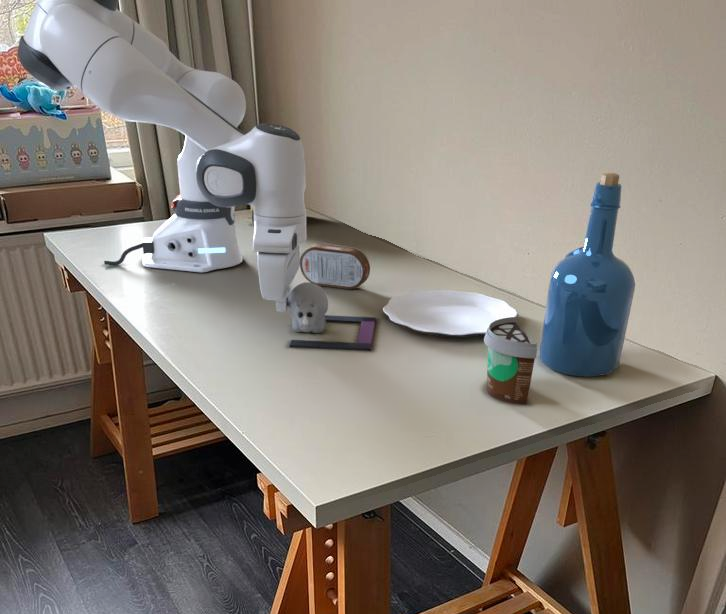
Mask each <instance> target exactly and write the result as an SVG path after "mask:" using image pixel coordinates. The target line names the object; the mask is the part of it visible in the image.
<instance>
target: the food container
mask: <svg viewBox="0 0 726 614" xmlns="http://www.w3.org/2000/svg"><path fill="white" fill-rule="evenodd" d="M483 342H484V345H486V346H487V367H486V393H487V394H488V395H489V396H490V397H492V398H494V399H495V400H497V401H501V402H504V403H509V404H513V405H527V403H528V399H529V392H530V387H531V383H532V376H533V371H534V365H535V360H536V359H537V358H538V357H537V355H538V354H537V353H538V343H537V342H531V341H530V340H529V337H528V334H527V333H526V331H525V330H522V329H521V328H520V326H519V325H518V316H517V317H507V318H502V319H498V320H496V321H494V322H492V323H491V324H490V326H489V327H488V329H487V331H486V334H485V335H484V337H483Z"/></svg>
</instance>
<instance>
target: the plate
mask: <svg viewBox="0 0 726 614" xmlns="http://www.w3.org/2000/svg"><path fill="white" fill-rule="evenodd" d="M382 312H383V314H385V316H388V319H389V321H390V322H392V323H393V324H395V325H396V326H402V327H404V328H408V329H410V330H412V331H414V332H417V333H420V334H425V335H429V336H435V337H442V338H443V337H444V338H445V337H446V338H470V337H480V336H482V335H483V336H485V334H486V331H487V329H488V327H489V326H490V324H491V323H492V322H494V321H496V320H498V319H502V318H507V317H517V318H518V316H519V313H518V311H517V309H516V308H513V307H512V306H510V305H509V304H508V303H507V302H506V301H504V300H502V299H501V298H496V297H491V296H488V295H485V294H482V293H480V292H479V293H478V292H475V291H462V290H461V291H459V290H453V289H433V290H417V291H416V290H415V291H410V292H408V293H405V294H403V295H398V296H394V297H392V298H391V299H389V300H388V302H387V304H386V305H385V306H384V307H383V308H382Z"/></svg>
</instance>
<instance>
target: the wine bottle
mask: <svg viewBox="0 0 726 614" xmlns="http://www.w3.org/2000/svg"><path fill="white" fill-rule="evenodd" d="M619 181H620V175H619V174H618V173H616V172H615V173H614V172H603V173H602V174H601V175H600V181H599V182H597V183H596V184H595V186H594V191H593V194H592V198H591V202H590V203H589V206H590V207H591V208H590V212H589V216H588V223H587V227H586V232H585V236H584V242H583V246H581V247H578V248H575V249H573V250H571V252H569V253H567V254H566V255H565V256H564V258H563V259H561V260H560V261H558V262H557V264H555V266H554V267H553V269H552V270H551V272H550V276H549V284H548V290H547V298H546V305H545V312H544V319H543V325H542V331H541V339H540V345H539V357H540V362H541V363H542V364H543V365H545V366H546V367H548V369H550V370H552V371H555V372H559V373H561V374H562V373H563V374H566V375H569V376H577V377H579V376H580V377H587V378H588V377H589V378H591V377H592V378H593V377H598V376H605V375H608V374H610V373H611V372H613V371H615V370H616V369H617V368H618V366H619V365H620V364H621V358H622V352H623V347H624V345H625V344H624V343H625V339H626V333H627V329H628V324H629V319H630V314H631V308H632V304H633V299H634V295H635V289H636V281H635V277H634V274H633V271H632V270H631V267H630V266H629V265H628V264H627V263H626V262H625V261H624V260H622V259H621V258H619V257H618V256H616V255H615V254H614V252H613V246H614V241H615V234H616V228H617V227H616V226H617V222H618V221H617V220H618V213H619V209H621V199H622V184H621V183H619Z"/></svg>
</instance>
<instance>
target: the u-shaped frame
mask: <svg viewBox="0 0 726 614" xmlns="http://www.w3.org/2000/svg"><path fill="white" fill-rule="evenodd" d="M324 316H325V323H345V324H346V323H347V324H348V323H349V324H360V327H359V331H358V335H357V341H356V342H348V341H324V340H306V339H305V340H303V339H301V340H300V339H291V341H290V343H289V348H298V349H299V348H300V349H322V350H323V349H324V350H326V349H327V350H346V351H366V352H369V351H371V349H372V342H373V338H374V337H373V336H374V332H375V331H374V330H375V325H376V319H377V318H376V317H373V316H351V315H349V316H348V315H329V314H327V315H326V314H325V315H324Z"/></svg>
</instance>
